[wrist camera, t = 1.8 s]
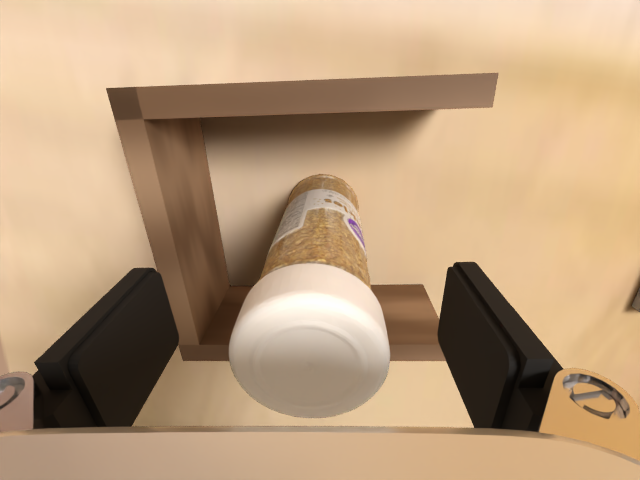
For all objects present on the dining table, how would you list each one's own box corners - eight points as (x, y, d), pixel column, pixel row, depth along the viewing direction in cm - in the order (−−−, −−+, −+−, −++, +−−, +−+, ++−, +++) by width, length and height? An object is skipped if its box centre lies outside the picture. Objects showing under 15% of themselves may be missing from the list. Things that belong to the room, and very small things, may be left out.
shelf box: (421, 298, 24) (447, 360, 18) (216, 300, 24) (182, 360, 19) (447, 78, 18) (498, 72, 12) (173, 88, 18) (105, 88, 13)
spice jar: (372, 206, 21) (429, 371, 9) (322, 251, 22) (311, 446, 10) (321, 156, 20) (304, 265, 7) (272, 206, 21) (190, 367, 9)
